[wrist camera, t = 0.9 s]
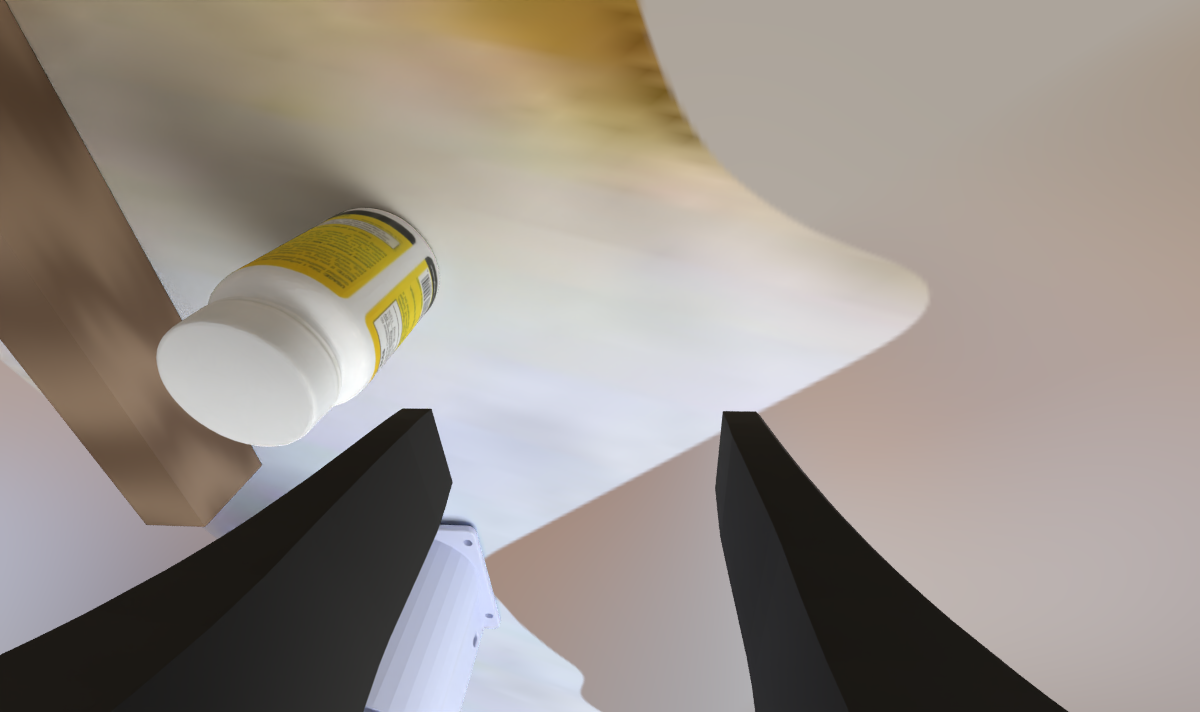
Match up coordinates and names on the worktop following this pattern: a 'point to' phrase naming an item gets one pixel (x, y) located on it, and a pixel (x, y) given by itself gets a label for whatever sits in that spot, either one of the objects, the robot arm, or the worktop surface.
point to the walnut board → (94, 310)
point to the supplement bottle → (300, 328)
